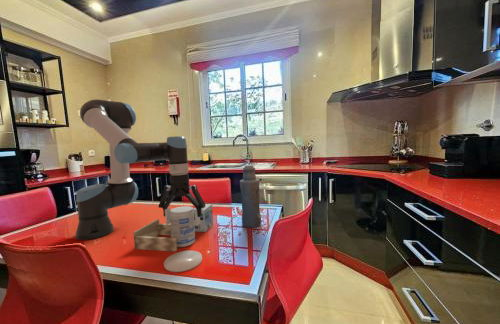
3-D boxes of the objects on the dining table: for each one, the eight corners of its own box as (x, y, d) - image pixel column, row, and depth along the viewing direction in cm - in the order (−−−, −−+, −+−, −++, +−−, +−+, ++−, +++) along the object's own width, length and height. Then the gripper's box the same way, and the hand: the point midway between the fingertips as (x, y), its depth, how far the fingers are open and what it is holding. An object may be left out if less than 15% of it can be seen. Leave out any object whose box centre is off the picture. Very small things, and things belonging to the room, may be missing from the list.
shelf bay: (134, 248, 90) (133, 232, 90) (157, 233, 105) (156, 219, 105) (175, 251, 87) (174, 234, 86) (193, 235, 102) (192, 220, 101)
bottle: (258, 228, 106) (255, 166, 104) (239, 227, 110) (236, 166, 107) (263, 221, 115) (261, 164, 113) (245, 220, 118) (243, 164, 116)
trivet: (156, 270, 74) (155, 268, 74) (176, 251, 87) (176, 249, 87) (191, 273, 71) (191, 271, 71) (207, 253, 84) (207, 251, 84)
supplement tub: (183, 250, 88) (181, 213, 86) (166, 245, 92) (164, 211, 91) (200, 240, 96) (198, 207, 95) (184, 236, 101) (181, 204, 99)
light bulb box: (205, 232, 104) (204, 210, 104) (192, 231, 106) (191, 209, 105) (213, 224, 115) (212, 203, 114) (201, 223, 116) (200, 203, 115)
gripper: (146, 175, 91) (151, 226, 92) (203, 174, 85) (207, 228, 87) (158, 173, 98) (161, 220, 100) (210, 171, 93) (214, 221, 94)
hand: (183, 224), depth 93 cm, fingers open, 13 cm apart
